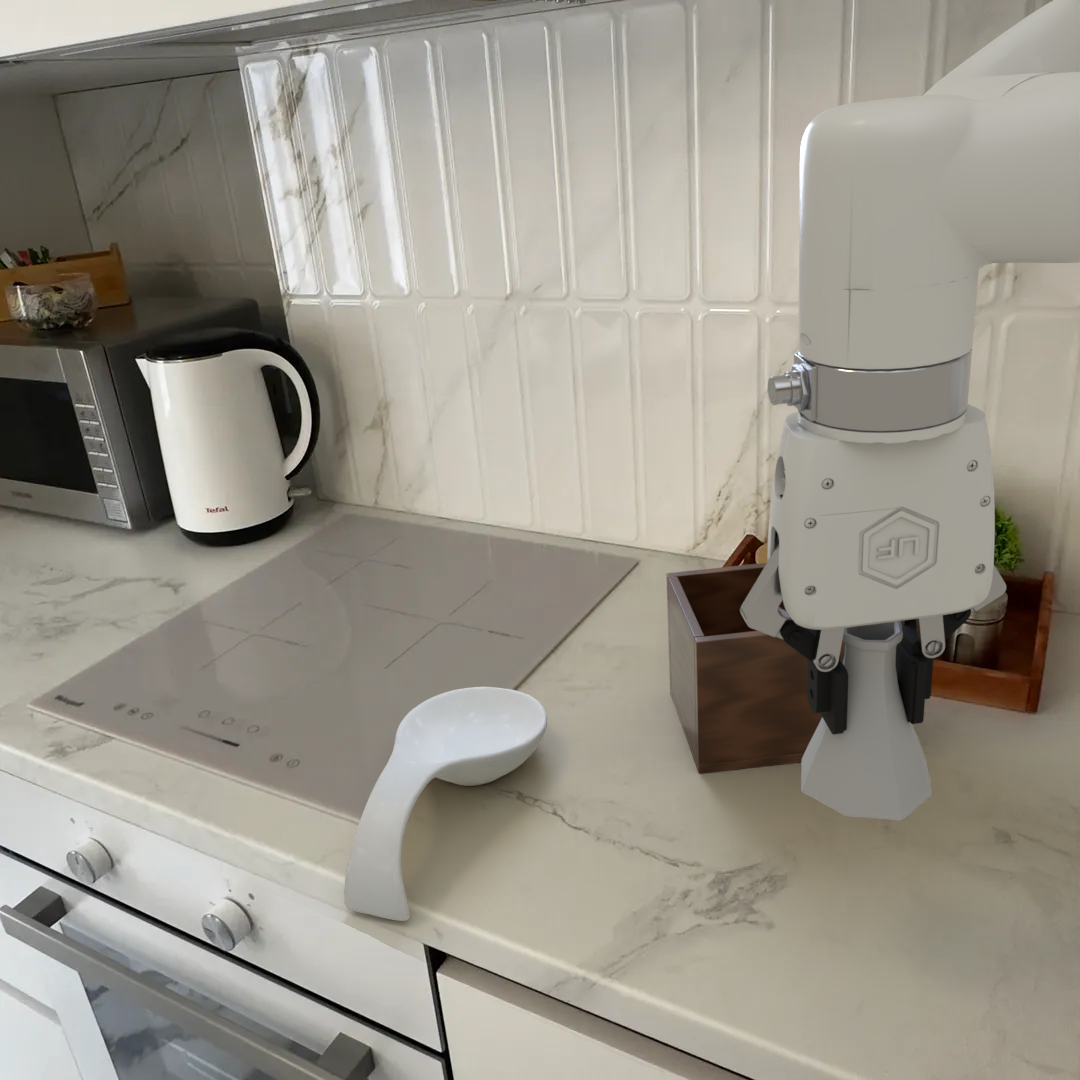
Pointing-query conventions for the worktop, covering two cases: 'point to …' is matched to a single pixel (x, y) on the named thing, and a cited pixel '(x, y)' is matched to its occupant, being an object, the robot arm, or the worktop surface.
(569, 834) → the worktop surface
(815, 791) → the flask
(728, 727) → the box
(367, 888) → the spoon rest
